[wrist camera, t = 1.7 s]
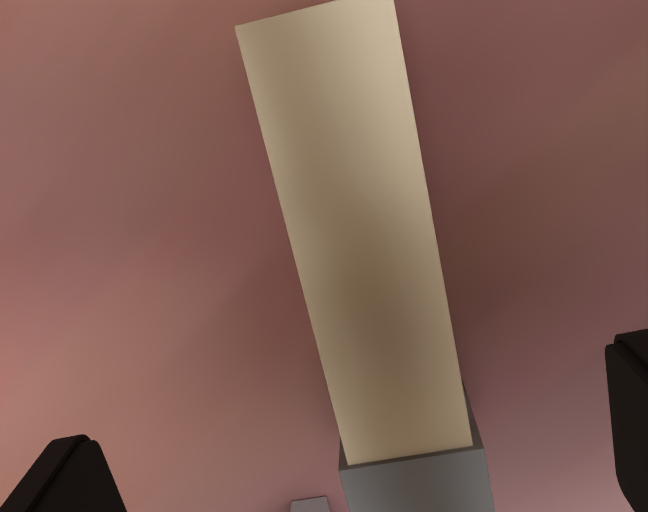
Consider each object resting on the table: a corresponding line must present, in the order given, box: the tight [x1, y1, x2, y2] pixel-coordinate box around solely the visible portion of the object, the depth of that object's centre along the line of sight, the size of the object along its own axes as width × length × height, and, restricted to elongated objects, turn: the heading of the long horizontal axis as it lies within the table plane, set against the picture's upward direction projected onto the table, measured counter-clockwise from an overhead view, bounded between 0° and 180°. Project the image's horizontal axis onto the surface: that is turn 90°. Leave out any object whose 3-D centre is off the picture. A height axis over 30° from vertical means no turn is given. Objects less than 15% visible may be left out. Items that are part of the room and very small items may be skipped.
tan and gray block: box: [234, 0, 495, 512], centre depth 20 cm, size 5×16×6 cm, turn 13°
